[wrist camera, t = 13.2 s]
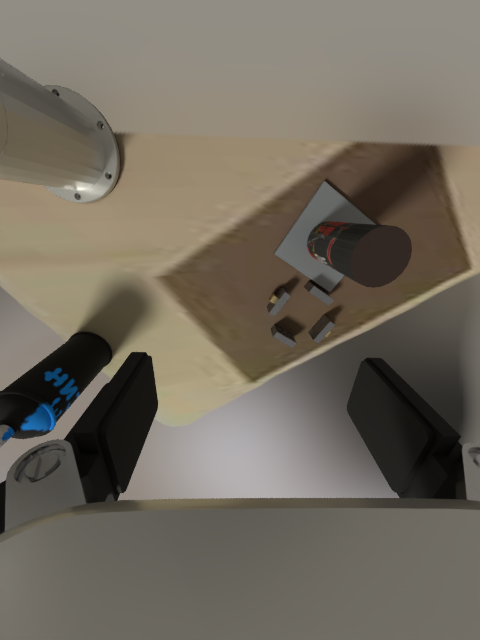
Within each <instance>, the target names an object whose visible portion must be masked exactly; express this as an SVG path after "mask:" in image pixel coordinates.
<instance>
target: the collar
mask: <svg viewBox="0 0 480 640" xmlns="http://www.w3.org/2000/svg"><path fill="white" fill-rule="evenodd" d="M304 287H305V288H306V289H307V290H308V291H309V292H310V293H311V294H313V295H314V296H316V297H317V298H319V299H320V300H322V301H323V302H325V303H326V304H328V305H330V304H331V303H332V302H333V301H334V299H333V298H331V297H330V296H329V295H328V294H327V293H325V292H324V291H322V290H321V289H319V288H318V287H316V286H315V285H314V284H312V283H311V282H309V281H308V282H307V284H306V285H305V286H304ZM290 296H291V295H290V294H289V292H288V291H287V290H286V289H284V288H283V287H281V288H280V289H279V291H278V292H277V293H276V295H275V294H272V295H271V296H270V298H269V301H270V303H269V304H268V306H267V309H268V312H269V313H270V314H271V315H273V316H276V314H277V313H278V312H279V310H280V309H281V308H282V307H283V305H284V304H285V303H286V301H287V300H288V299H289V298H290ZM334 326H335V324H334V323H333V322H332V321H331V320H330V318H328V317H327V316H325V315H323V316H322V317H321V318H320V320H319V321H318V322H317V323H316V324H315V325H314V327H313V328H312V329H311V330H310V331H309V334H310V336H311V337H312V339H313V340H314V341H315V342H317V343H319V342H320V341H321V340H322V339H323V338H324V337H325V336H326V337H327V336H328V335H329V334H330V333H331V331H330V330H331V329H332V328H333V327H334ZM271 332H272V335H273V337H274V338H276V339H278V340H279V341H281V342H283V343H284V344H286V345H288V346H290V347H291V348H293V347H294V346H295V345H296V344H297V343H296V341H295V339H294V337H293V335H291V334H290V333H288V332H286V331H285V330H283V329H282V328H280V327H278V326H277V325H275V324H274V326H273V327H272V328H271Z"/></svg>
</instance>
